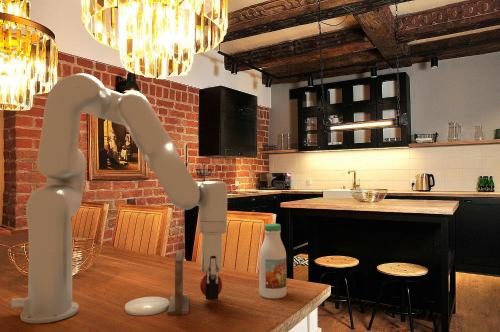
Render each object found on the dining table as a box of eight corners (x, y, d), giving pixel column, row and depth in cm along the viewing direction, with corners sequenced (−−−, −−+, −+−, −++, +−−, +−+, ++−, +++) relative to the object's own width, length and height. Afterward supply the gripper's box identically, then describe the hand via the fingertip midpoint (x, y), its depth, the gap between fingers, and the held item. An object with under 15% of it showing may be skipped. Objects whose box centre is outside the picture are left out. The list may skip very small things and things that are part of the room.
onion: (211, 294, 103) (211, 265, 104) (226, 299, 100) (227, 269, 100) (195, 299, 99) (196, 269, 99) (210, 304, 95) (211, 273, 95)
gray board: (167, 315, 91) (167, 261, 91) (170, 298, 103) (170, 251, 103) (188, 313, 91) (188, 260, 92) (189, 297, 103) (189, 250, 104)
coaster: (121, 316, 90) (121, 312, 90) (129, 301, 100) (129, 297, 100) (167, 314, 91) (167, 310, 91) (170, 299, 102) (170, 295, 102)
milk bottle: (255, 297, 104) (255, 225, 104) (264, 289, 111) (264, 222, 111) (282, 300, 101) (281, 226, 101) (289, 292, 108) (289, 223, 108)
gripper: (198, 223, 108) (196, 286, 107) (199, 232, 91) (197, 306, 90) (224, 223, 109) (222, 285, 108) (229, 231, 92) (228, 305, 91)
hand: (211, 294), depth 99 cm, fingers closed on onion, 5 cm apart
